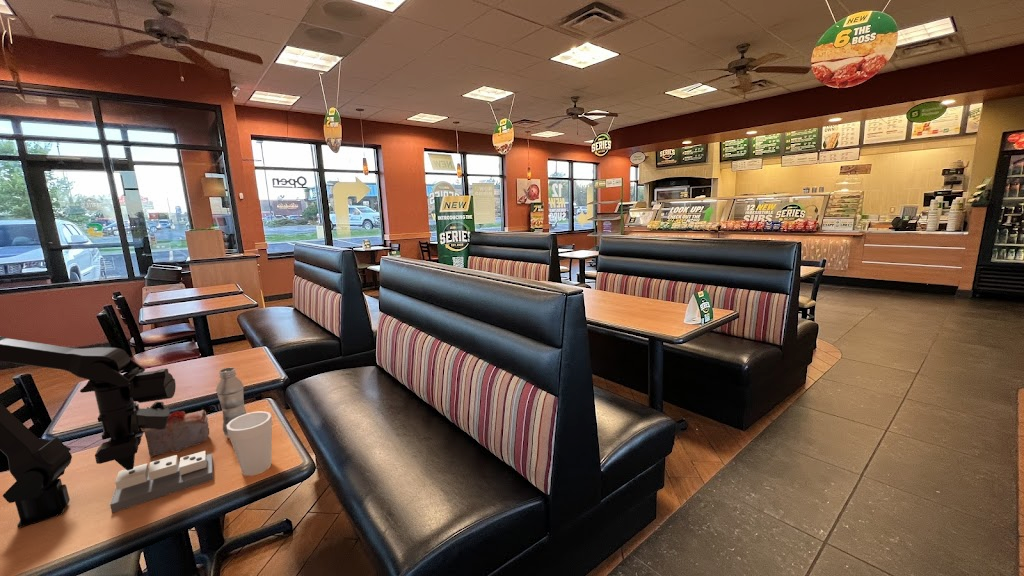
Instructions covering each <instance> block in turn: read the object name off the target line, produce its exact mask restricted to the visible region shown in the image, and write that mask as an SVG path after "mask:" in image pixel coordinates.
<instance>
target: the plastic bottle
mask: <svg viewBox="0 0 1024 576" xmlns="http://www.w3.org/2000/svg"><path fill="white" fill-rule="evenodd" d="M236 375H237V373H236V368H235V367H226V368H222V369H219V378H220V381H219V382H218V384H217V386H216V389H215V392H216V394H217V397H218V400H219V403H220V407H221V411H222V431H223V434H224V436H226V437H227V438H229V436H228V432H227V426H226V425H227V424H228V423H229V422H230V421H231V420H233V419H235V418H236V417H238V416H241V415H244V414H247V411H246V407H245V399H244V398H245V397H244V383H243V382H242V380H240V378H238V377H237V376H236Z"/></svg>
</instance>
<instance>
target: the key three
mask: <svg viewBox="0 0 1024 576" xmlns="http://www.w3.org/2000/svg"><path fill="white" fill-rule="evenodd" d="M206 453H207V452H206V450H203V451H198V452H195V453H193V454H188V455H185V456H181V457H180V459H179V463H180V465H179V469H180V474H181V475H183V474H186V473H189V472H193V471H196V470H199V469H202V468H206V467H207V457H206V455H207V454H206Z"/></svg>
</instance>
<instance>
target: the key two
mask: <svg viewBox="0 0 1024 576" xmlns="http://www.w3.org/2000/svg"><path fill="white" fill-rule="evenodd" d="M178 463H179V458H178V455H177V454H175V455H171V456H166V457H164V458H160V459H157V460H153V461H151V462H150V463H149V465H148V468H149V470H148V476H149V481H150V480H153V479H156V478H160V477H163V476H166V475H170V474H173V473H176V472H177V470H178Z"/></svg>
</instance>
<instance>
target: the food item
mask: <svg viewBox="0 0 1024 576" xmlns="http://www.w3.org/2000/svg"><path fill="white" fill-rule="evenodd" d="M209 425H210V424H209V422H208V416H207V412H206V410H205V409H201V410H197V411H195V412H194V411H193V412H188V413H186V412H185V411H183V410H181V411H176V410H175V411H174V412H172V413H169V417H168V421H167V425H166V428H165V429H161V430H158V429H144V435H145V436H144V437H145V439H146V440H145V441H146V444H147V449H148V455H149V457H150V458H152V457H156V456H158V455H163V454H166V453H169V452H175V453H177V451H178V452H181V451H183V450H186V448H188V447H190V448H191V447H192V446H196V445H199V443H200V444H203V443H204V442H206V441H207V440H208V438H209V436H210V427H209Z"/></svg>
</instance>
